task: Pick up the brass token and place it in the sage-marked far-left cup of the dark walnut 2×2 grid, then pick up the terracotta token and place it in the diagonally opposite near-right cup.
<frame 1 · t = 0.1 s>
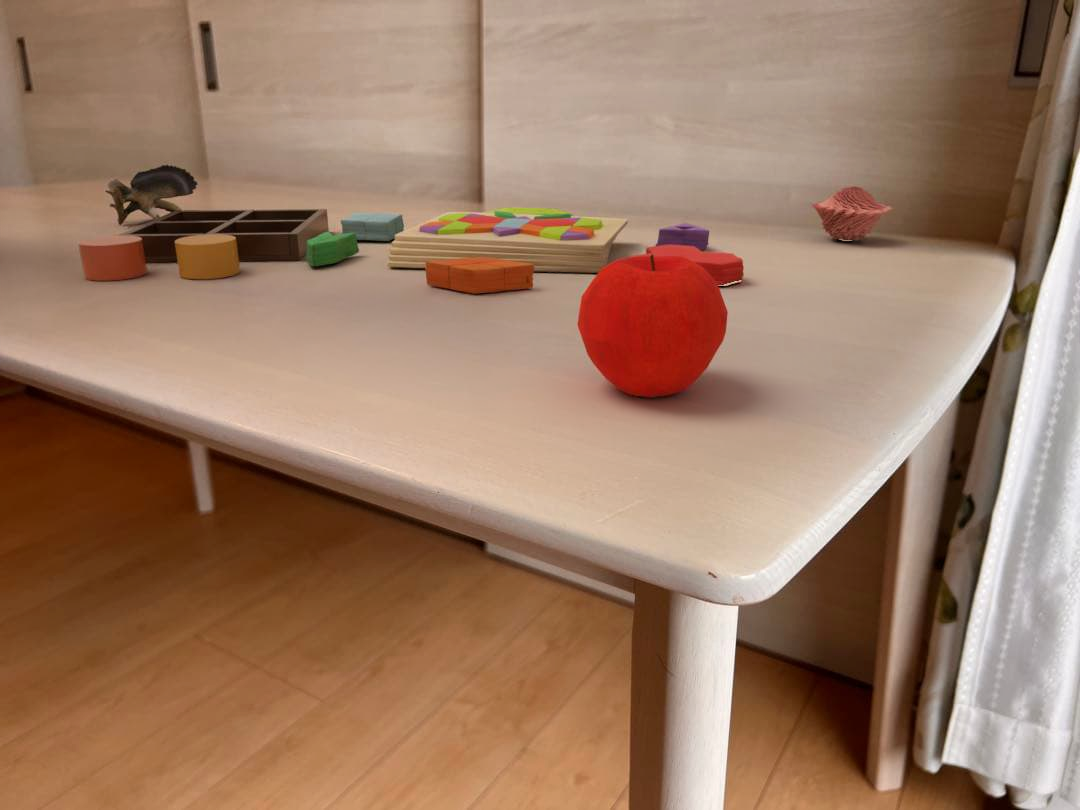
apple: (649, 391, 47), on the table
grid: (234, 245, 88), on the table
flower: (846, 242, 90), on the table
brass token: (210, 273, 75), on the table
pattern blocks set: (515, 256, 83), on the table
terracotta token: (116, 274, 75), on the table
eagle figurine: (156, 223, 102), on the table
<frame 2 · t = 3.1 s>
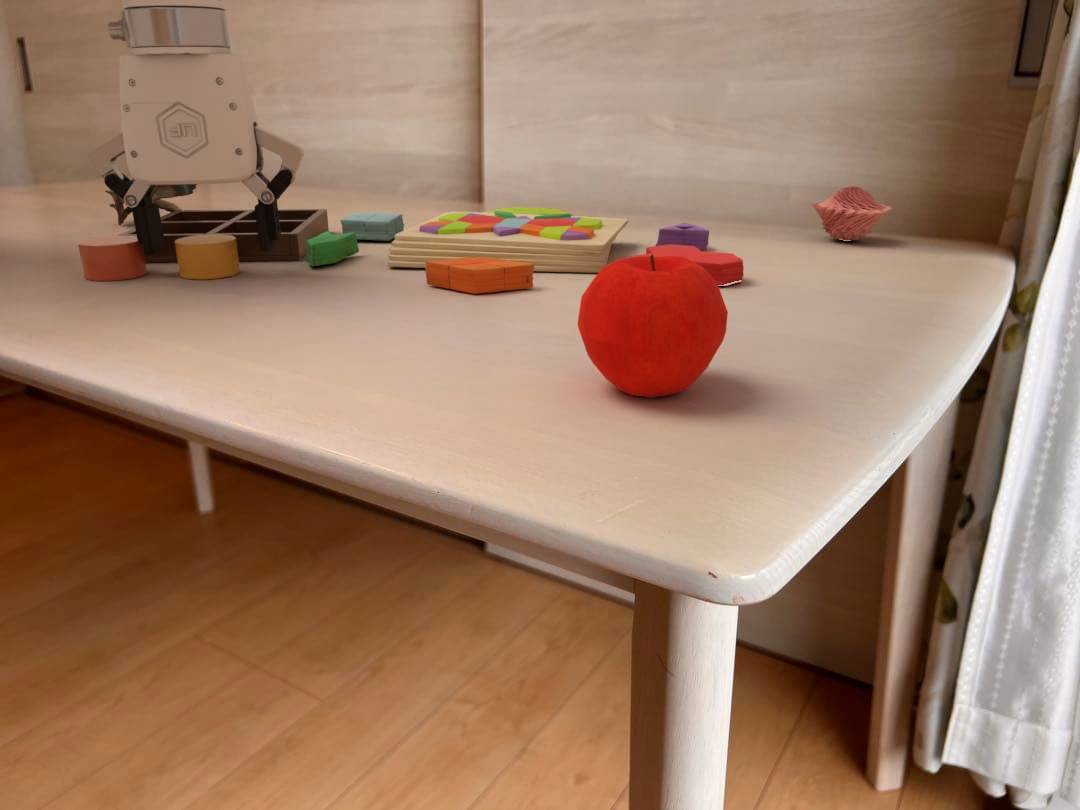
hand: (212, 250, 74), 2 cm above the table, tool pointing down, fingers open, 9 cm apart
terracotta token: (116, 274, 75), on the table, touching gripper
everything else where it was.
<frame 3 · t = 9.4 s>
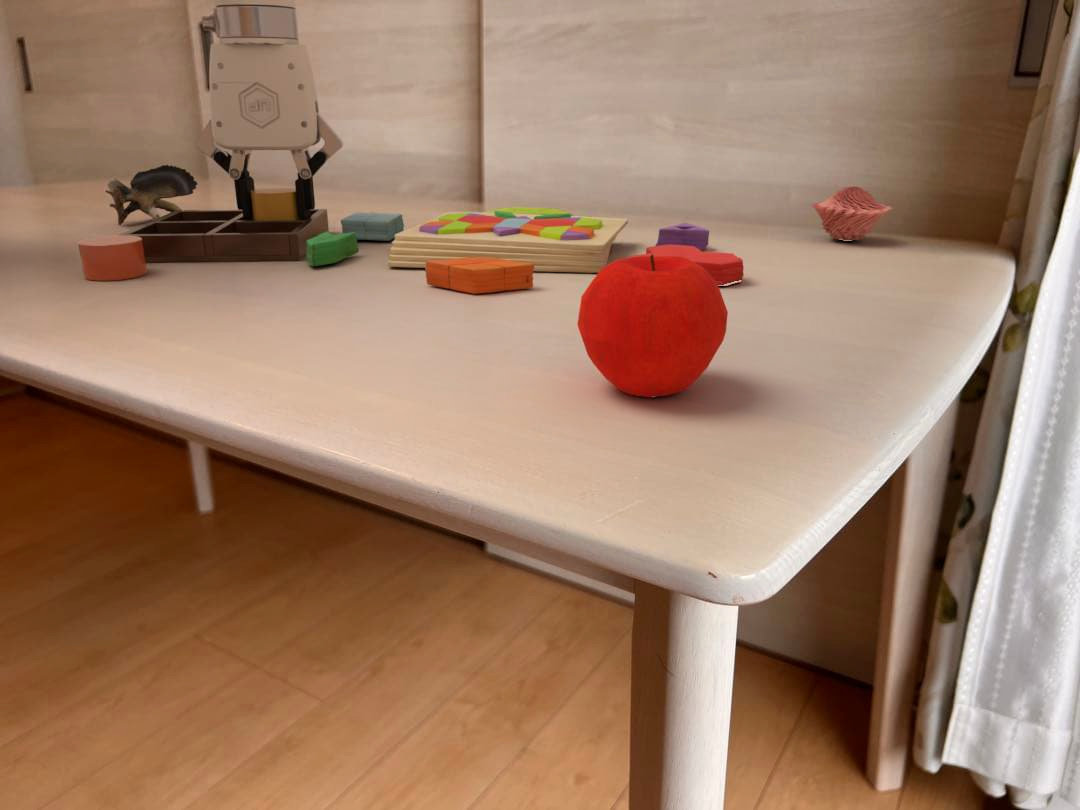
hand: (277, 215, 91), 2 cm above the table, tool pointing down, fingers closed on brass token, 5 cm apart
brass token: (277, 219, 91), point 2 cm above the table, touching gripper
terracotta token: (116, 274, 75), on the table
everything else where it was.
when the fingers open (3 cm above the table, at t = 13.2 s): brass token drops 1 cm, resting on grid.
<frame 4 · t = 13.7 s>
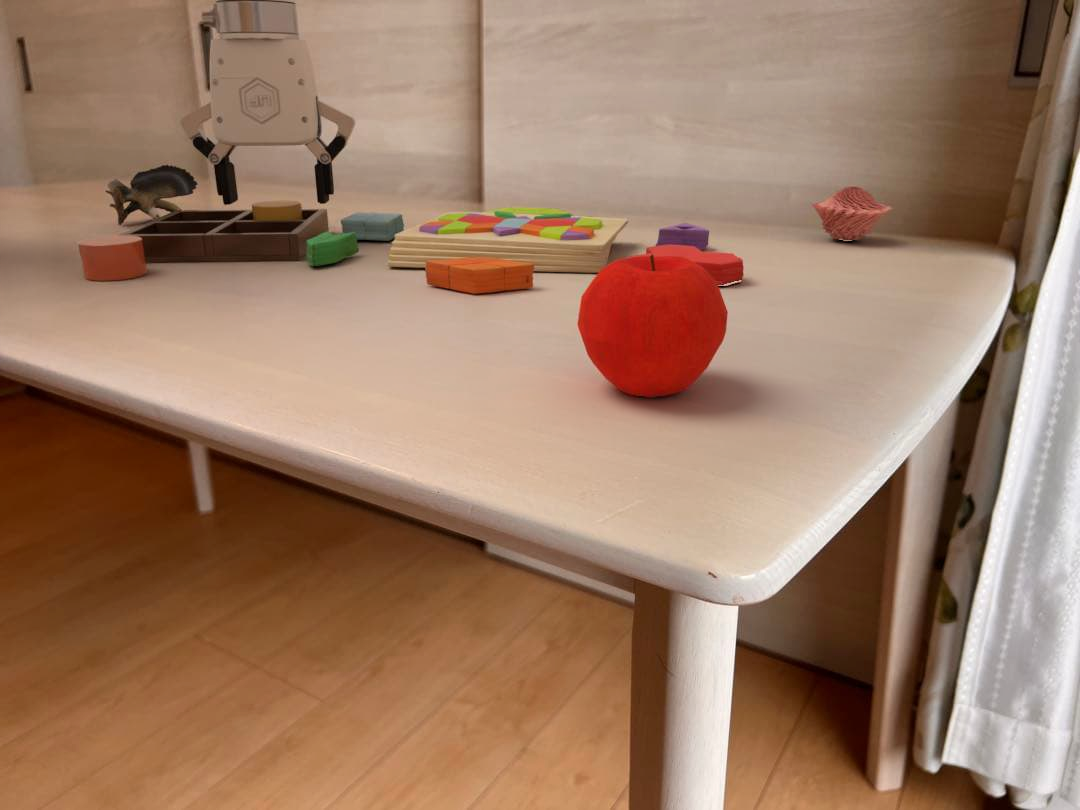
hand: (277, 202, 90), 4 cm above the table, tool pointing down, fingers open, 9 cm apart
brass token: (279, 232, 91), point 1 cm above the table, touching grid
everything else where it was.
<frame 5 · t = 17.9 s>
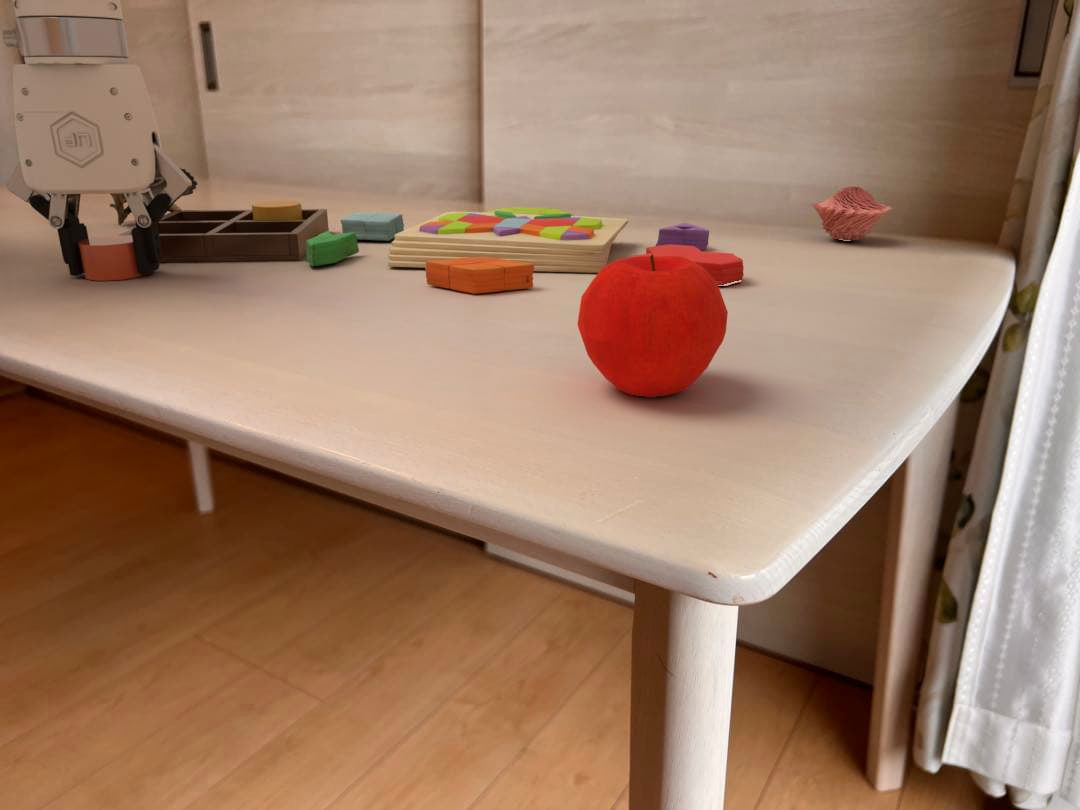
hand: (115, 269, 74), 0 cm above the table, tool pointing down, fingers closed on terracotta token, 5 cm apart
terracotta token: (116, 274, 75), on the table, touching gripper
everything else where it was.
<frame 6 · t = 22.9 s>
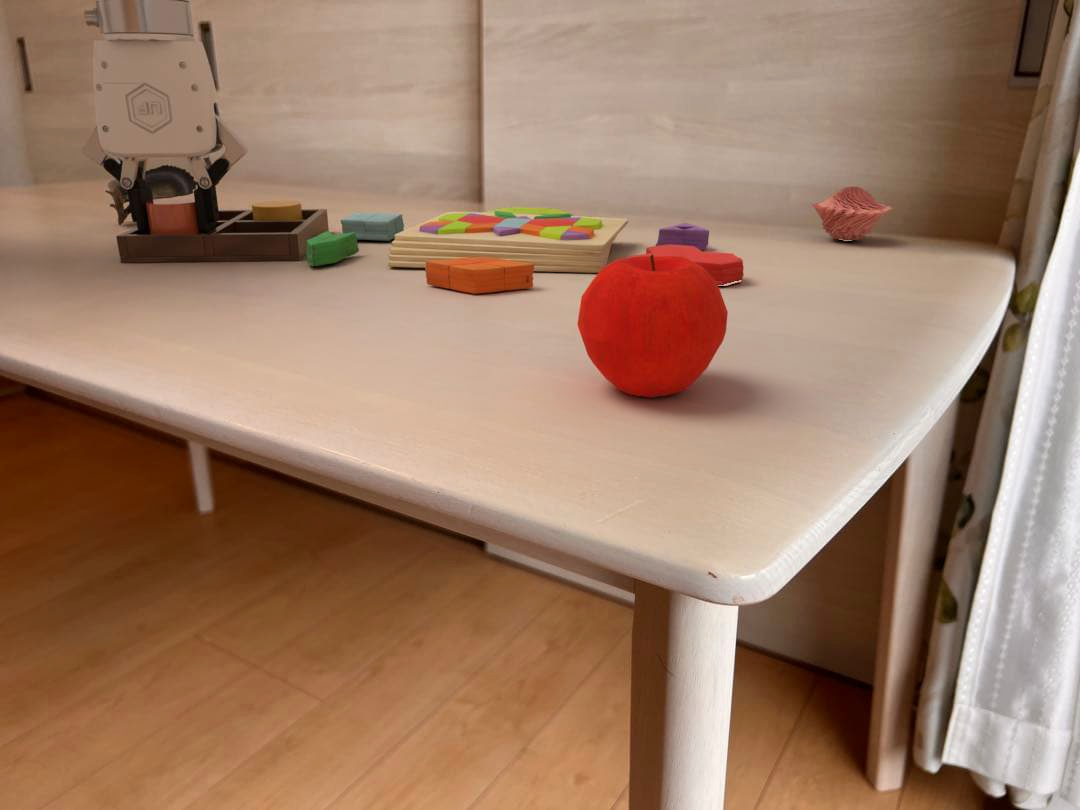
hand: (177, 227, 83), 2 cm above the table, tool pointing down, fingers closed on terracotta token, 5 cm apart
terracotta token: (178, 232, 83), point 2 cm above the table, touching gripper
everything else where it was.
when the fingers open (3 cm above the table, at t = 26.6 s): terracotta token drops 2 cm, resting on grid.
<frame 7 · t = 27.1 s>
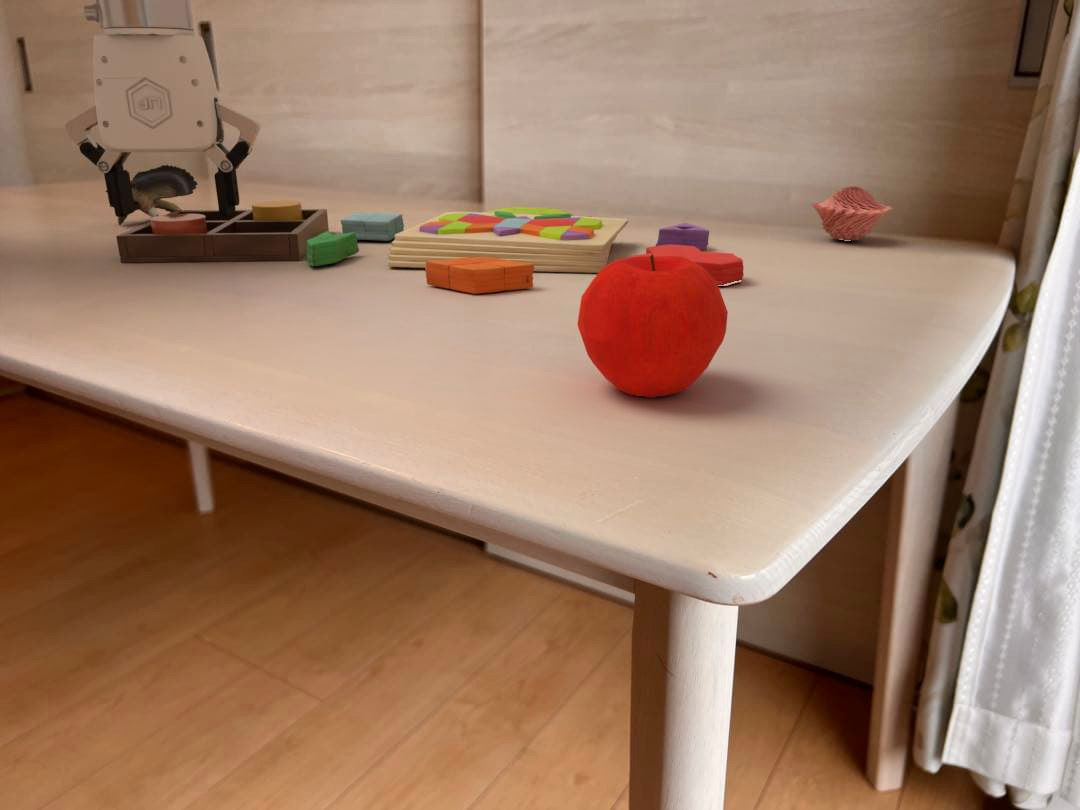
hand: (177, 214, 82), 4 cm above the table, tool pointing down, fingers open, 9 cm apart
terracotta token: (182, 248, 83), resting on grid
everything else where it was.
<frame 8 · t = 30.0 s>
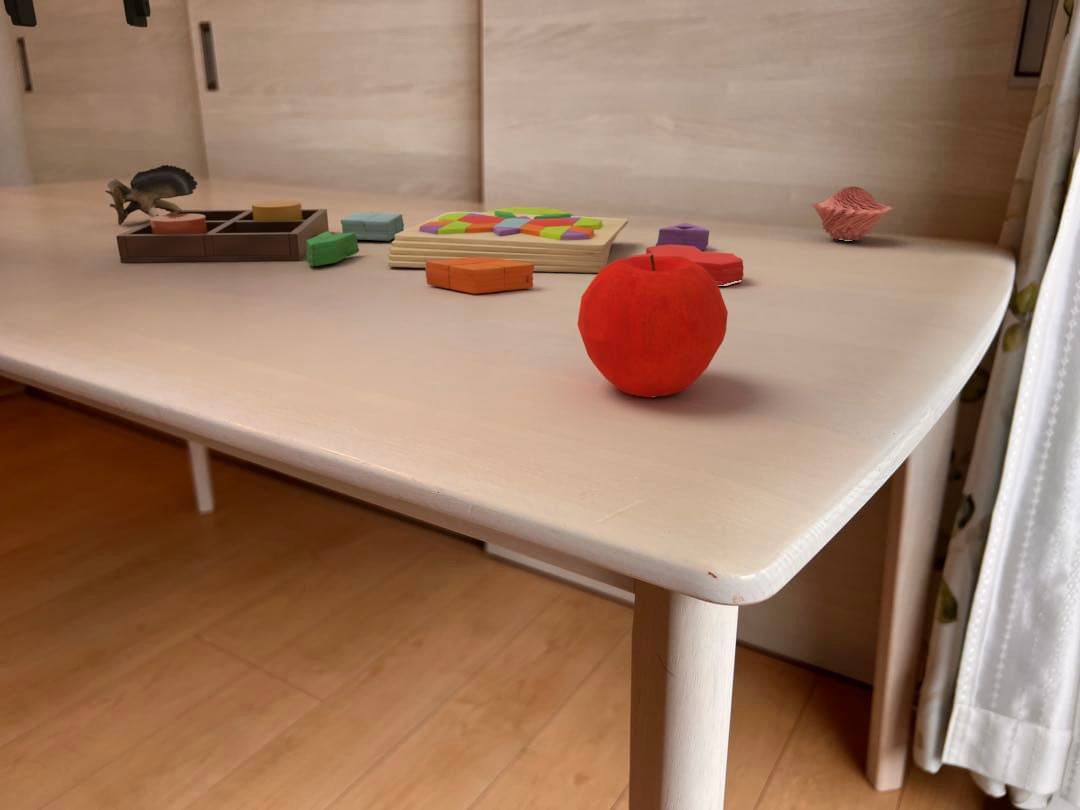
hand: (81, 26, 76), 20 cm above the table, tool pointing down, fingers open, 9 cm apart
nothing on the table moved.
at the end: brass token 0.1 cm from the target spot in the grid, point 0.7 cm above the grid's base; terracotta token 0.1 cm from the target spot in the grid, point 0.5 cm above the grid's base; brass token tilted 0° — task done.
